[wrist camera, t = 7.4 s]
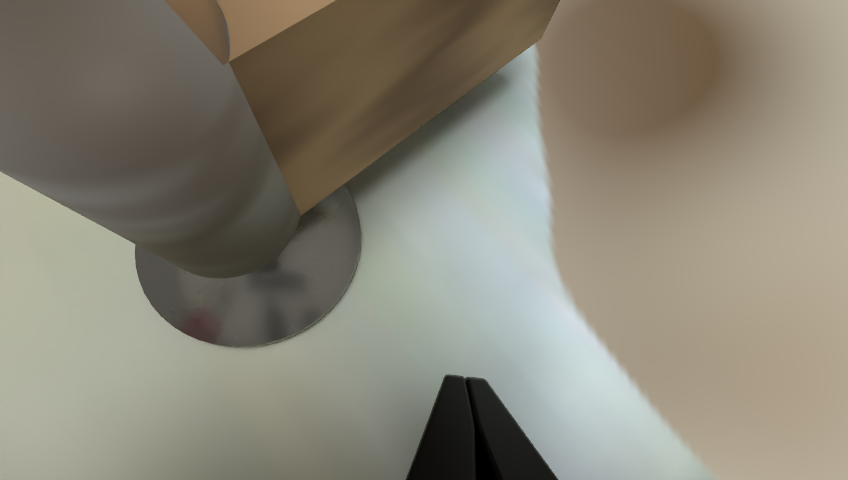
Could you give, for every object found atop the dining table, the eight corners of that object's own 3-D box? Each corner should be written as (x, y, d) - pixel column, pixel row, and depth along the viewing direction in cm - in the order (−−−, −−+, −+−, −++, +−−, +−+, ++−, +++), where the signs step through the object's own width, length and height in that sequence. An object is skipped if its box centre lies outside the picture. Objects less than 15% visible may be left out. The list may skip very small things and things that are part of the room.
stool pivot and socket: (561, 171, 18) (615, 113, 14) (202, 393, 14) (131, 402, 10) (429, 5, 21) (443, -88, 16) (81, 156, 16) (-20, 81, 12)
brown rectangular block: (210, 310, 12) (14, 236, 6) (126, 204, 13) (-136, 26, 6) (553, 49, 17) (670, -164, 10) (478, -19, 17) (541, -262, 11)
